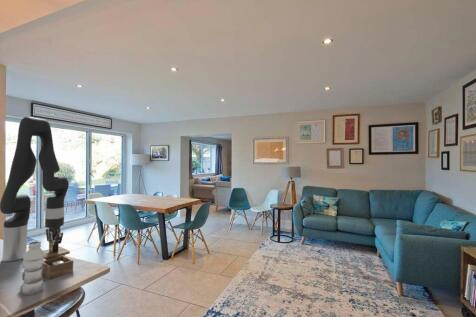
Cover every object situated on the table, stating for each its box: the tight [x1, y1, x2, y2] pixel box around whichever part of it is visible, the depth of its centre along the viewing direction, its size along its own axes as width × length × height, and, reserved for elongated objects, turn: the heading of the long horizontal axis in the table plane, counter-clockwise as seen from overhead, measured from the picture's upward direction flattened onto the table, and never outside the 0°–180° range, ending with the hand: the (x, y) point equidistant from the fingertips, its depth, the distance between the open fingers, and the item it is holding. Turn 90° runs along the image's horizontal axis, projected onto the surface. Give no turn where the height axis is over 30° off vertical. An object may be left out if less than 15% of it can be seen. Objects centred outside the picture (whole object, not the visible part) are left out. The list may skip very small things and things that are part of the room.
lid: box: [43, 241, 71, 261], centre depth 118 cm, size 11×10×7 cm
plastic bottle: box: [21, 241, 45, 296], centre depth 94 cm, size 6×7×20 cm
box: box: [42, 255, 74, 280], centre depth 110 cm, size 10×9×6 cm
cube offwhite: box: [52, 260, 64, 266], centre depth 112 cm, size 4×4×4 cm
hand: (53, 250), depth 118 cm, fingers closed on lid, 3 cm apart
